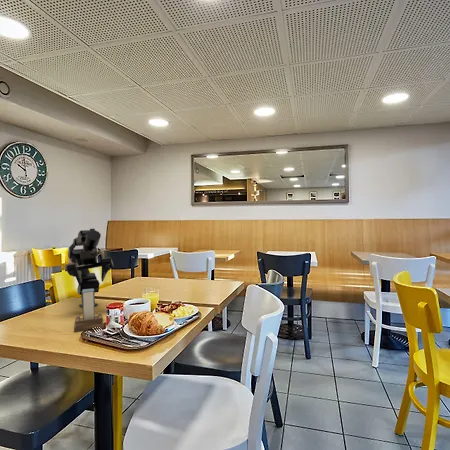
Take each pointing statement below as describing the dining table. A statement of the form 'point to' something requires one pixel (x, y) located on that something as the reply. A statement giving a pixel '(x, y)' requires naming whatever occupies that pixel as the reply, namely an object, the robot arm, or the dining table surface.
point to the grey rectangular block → (88, 304)
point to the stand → (88, 323)
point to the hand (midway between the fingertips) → (91, 283)
